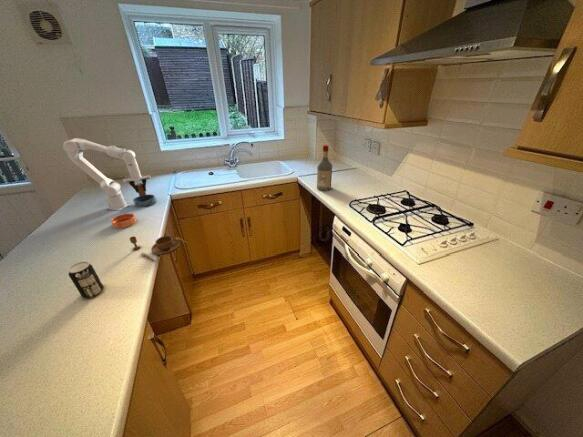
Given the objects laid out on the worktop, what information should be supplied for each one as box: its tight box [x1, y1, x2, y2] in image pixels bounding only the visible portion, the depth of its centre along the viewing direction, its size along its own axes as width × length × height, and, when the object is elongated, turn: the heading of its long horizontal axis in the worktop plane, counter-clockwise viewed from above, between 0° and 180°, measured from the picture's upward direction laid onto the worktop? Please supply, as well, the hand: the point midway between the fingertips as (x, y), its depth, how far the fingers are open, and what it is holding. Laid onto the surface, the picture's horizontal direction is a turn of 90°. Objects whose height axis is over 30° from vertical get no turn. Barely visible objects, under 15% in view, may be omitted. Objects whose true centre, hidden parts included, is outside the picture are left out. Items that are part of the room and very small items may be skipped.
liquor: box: [316, 144, 333, 192], centre depth 163 cm, size 9×9×30 cm
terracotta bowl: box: [110, 212, 138, 230], centre depth 131 cm, size 11×11×4 cm
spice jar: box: [135, 182, 147, 197], centre depth 151 cm, size 4×4×8 cm
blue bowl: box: [133, 193, 157, 208], centre depth 155 cm, size 12×12×4 cm
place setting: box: [129, 235, 188, 262], centre depth 111 cm, size 18×20×6 cm
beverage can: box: [67, 261, 104, 299], centre depth 85 cm, size 7×7×12 cm
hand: (141, 191), depth 152 cm, fingers closed on spice jar, 4 cm apart
